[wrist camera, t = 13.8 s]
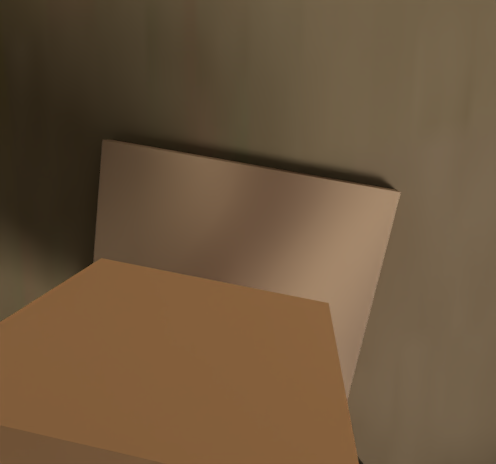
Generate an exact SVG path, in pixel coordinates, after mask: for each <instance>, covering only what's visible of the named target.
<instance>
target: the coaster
mask: <svg viewBox="0 0 496 464" xmlns="http://www.w3.org/2000/svg"><path fill="white" fill-rule="evenodd" d="M400 194H401V192H399V191H398V190H396V189H390V188H384V187H379V186H373V185H367V184H361V183H356V182H350V181H344V180H339V179H333V178H327V177H322V176H316V175H310V174H304V173H299V172H293V171H287V170H282V169H276V168H270V167H265V166H259V165H253V164H248V163H242V162H236V161H230V160H225V159H219V158H213V157H208V156H202V155H196V154H191V153H185V152H179V151H173V150H168V149H162V148H156V147H151V146H145V145H139V144H134V143H128V142H122V141H117V140H102V152H101V165H100V178H99V192H98V205H97V219H96V232H95V246H94V259H93V263H94V262H96V261H97V260H99V259H101V258H103V259H108V260H113V261H119V262H124V263H129V264H134V265H139V266H144V267H149V268H154V269H159V270H164V271H169V272H174V273H179V274H184V275H189V276H194V277H200V278H205V279H210V280H215V281H220V282H225V283H230V284H235V285H240V286H245V287H250V288H255V289H260V290H265V291H270V292H275V293H280V294H286V295H291V296H296V297H301V298H306V299H311V300H316V301H321V302H326V303H329V308H330V313H331V319H332V324H333V329H334V334H335V340H336V345H337V350H338V356H339V361H340V366H341V372H342V377H343V382H344V387H345V393H346V398H347V400H348V396H349V392H350V388H351V384H352V380H353V376H354V372H355V369H356V365H357V361H358V357H359V353H360V349H361V345H362V341H363V337H364V334H365V330H366V326H367V322H368V318H369V314H370V310H371V306H372V302H373V299H374V295H375V291H376V287H377V283H378V279H379V275H380V271H381V267H382V264H383V260H384V256H385V252H386V248H387V244H388V240H389V236H390V233H391V229H392V225H393V221H394V217H395V213H396V209H397V205H398V201H399V198H400Z"/></svg>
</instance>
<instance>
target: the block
mask: <svg viewBox="0 0 496 464" xmlns="http://www.w3.org/2000/svg"><path fill="white" fill-rule="evenodd" d="M0 464H359V461H358V456H357V451H356V446H355V440H354V435H353V430H352V424H351V419H350V414H349V409H348V403H347V398H346V393H345V387H344V382H343V377H342V372H341V366H340V361H339V356H338V350H337V345H336V340H335V334H334V329H333V324H332V319H331V313H330V308H329V303H326V302H321V301H316V300H311V299H306V298H301V297H296V296H291V295H286V294H280V293H275V292H270V291H265V290H260V289H255V288H250V287H245V286H240V285H235V284H230V283H225V282H220V281H215V280H210V279H205V278H200V277H194V276H189V275H184V274H179V273H174V272H169V271H164V270H159V269H154V268H149V267H144V266H139V265H134V264H129V263H124V262H119V261H113V260H108V259H103V258H101V259H99V260H97V261H96V262H94V263H93V264H91V265H90V266H88V267H86V268H85V269H83V270H82V271H80V272H79V273H77V274H75V275H74V276H72V277H71V278H69V279H67V280H66V281H64V282H63V283H61V284H60V285H58V286H56V287H55V288H53V289H52V290H50V291H48V292H47V293H45V294H44V295H42V296H41V297H39V298H37V299H36V300H34V301H33V302H31V303H30V304H28V305H26V306H25V307H23V308H22V309H20V310H18V311H17V312H15V313H14V314H12V315H11V316H9V317H7V318H6V319H4V320H3V321H1V322H0Z"/></svg>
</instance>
